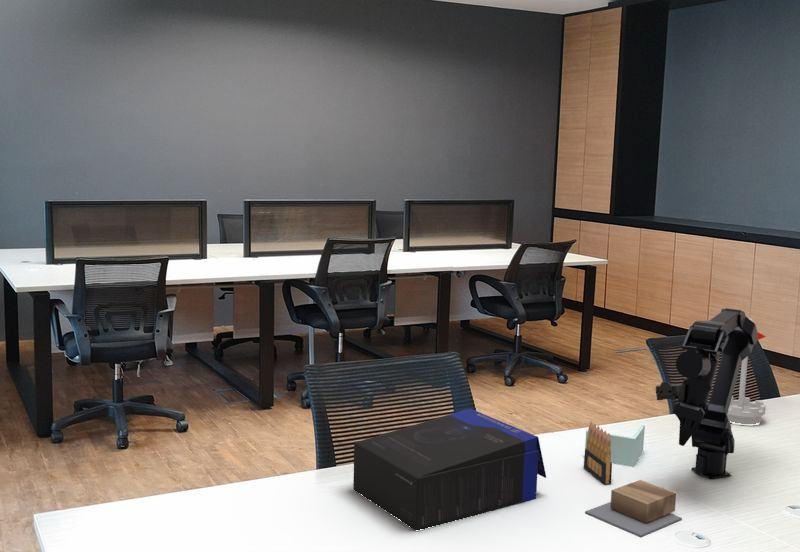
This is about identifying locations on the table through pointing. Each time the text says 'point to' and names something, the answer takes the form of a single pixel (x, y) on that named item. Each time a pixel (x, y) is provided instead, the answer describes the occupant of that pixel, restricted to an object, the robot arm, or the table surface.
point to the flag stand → (745, 401)
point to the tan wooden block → (643, 501)
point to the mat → (631, 520)
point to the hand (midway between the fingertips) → (681, 445)
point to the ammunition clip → (598, 454)
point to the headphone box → (448, 468)
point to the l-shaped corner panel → (626, 447)
